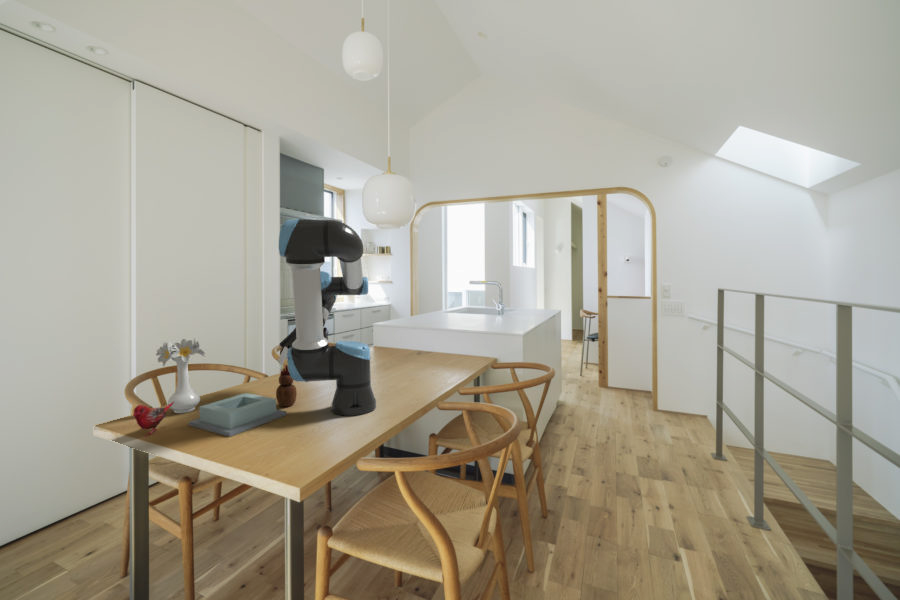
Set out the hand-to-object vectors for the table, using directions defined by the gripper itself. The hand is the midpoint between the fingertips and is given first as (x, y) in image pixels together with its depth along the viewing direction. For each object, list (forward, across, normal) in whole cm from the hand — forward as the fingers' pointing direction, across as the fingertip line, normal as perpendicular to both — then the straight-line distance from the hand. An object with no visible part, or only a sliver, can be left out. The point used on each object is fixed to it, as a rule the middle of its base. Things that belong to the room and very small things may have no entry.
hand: (296, 363), depth 147 cm
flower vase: (+23, +32, +4) cm, 39 cm away
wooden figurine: (+15, -1, -5) cm, 15 cm away
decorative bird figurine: (+35, +24, +16) cm, 45 cm away
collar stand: (+26, +6, +7) cm, 27 cm away
